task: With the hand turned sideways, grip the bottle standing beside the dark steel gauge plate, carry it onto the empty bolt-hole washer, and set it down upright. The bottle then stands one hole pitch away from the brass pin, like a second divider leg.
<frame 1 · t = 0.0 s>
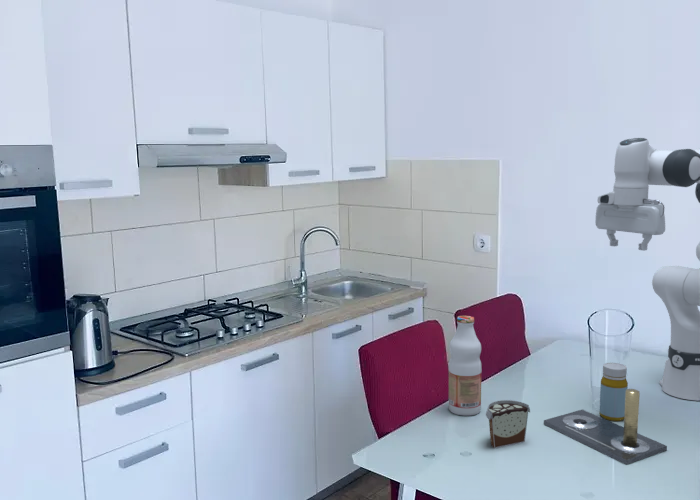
hand: (627, 248, 178), 48 cm above the table, tool pointing down, fingers open, 8 cm apart
gauge plate: (602, 436, 170), on the table
bottle: (612, 417, 182), on the table
fruit juice: (464, 410, 189), on the table
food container: (502, 441, 169), on the table
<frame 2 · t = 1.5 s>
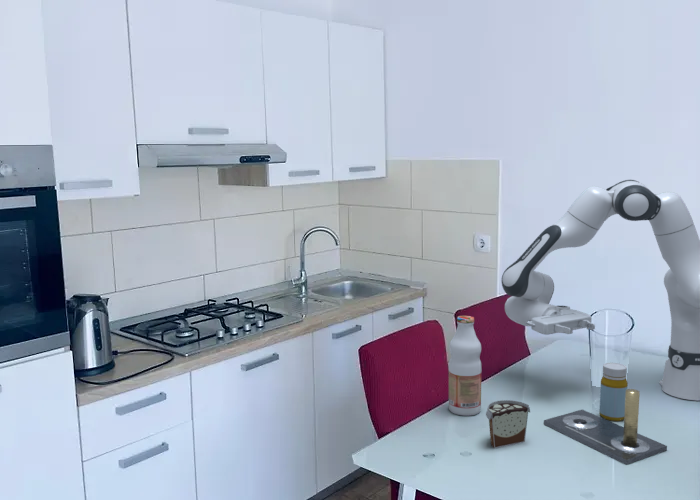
hand: (582, 329, 189), 23 cm above the table, tool horizontal, fingers open, 8 cm apart
nothing on the table moved.
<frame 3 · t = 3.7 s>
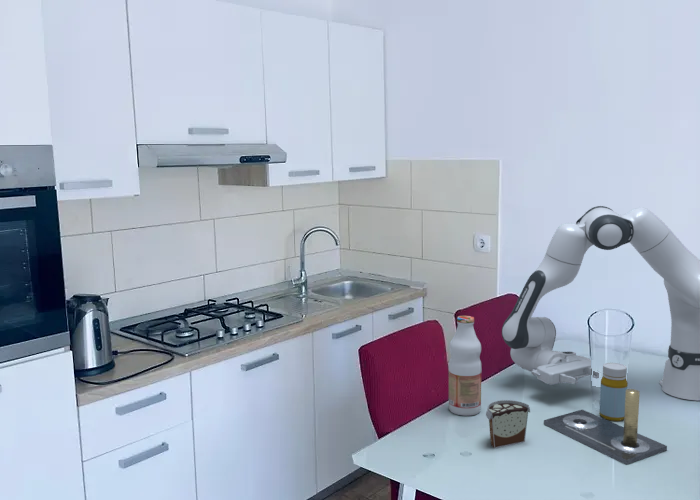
hand: (587, 378, 189), 8 cm above the table, tool horizontal, fingers open, 8 cm apart
nothing on the table moved.
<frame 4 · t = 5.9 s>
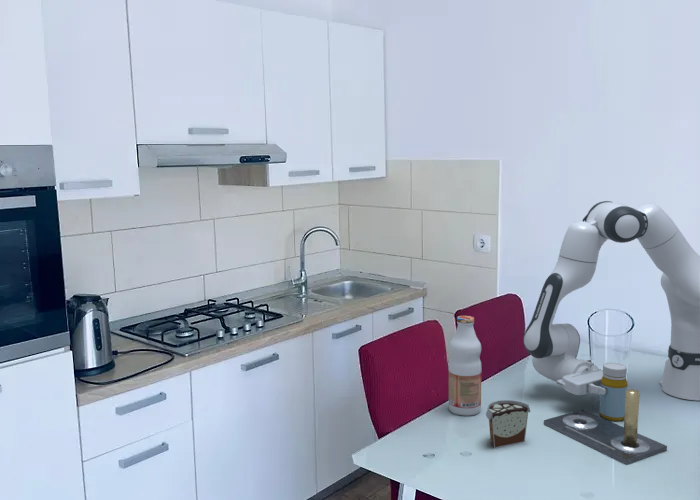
hand: (616, 389, 180), 9 cm above the table, tool horizontal, fingers closed on bottle, 7 cm apart
bottle: (612, 417, 182), on the table, touching gripper
everything else where it was.
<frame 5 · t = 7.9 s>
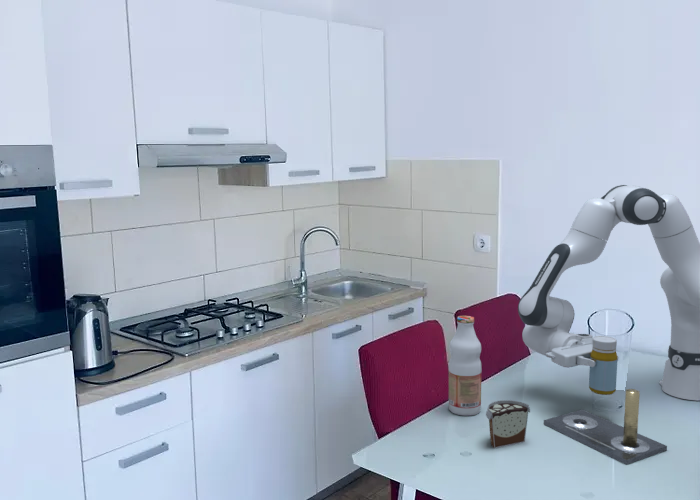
hand: (606, 361, 177), 17 cm above the table, tool horizontal, fingers closed on bottle, 7 cm apart
bottle: (602, 391, 180), point 8 cm above the table, touching gripper
everything else where it was.
when the fingers open (11 cm above the table, at t = 10.3 s): bottle stays where it is, resting on gauge plate.
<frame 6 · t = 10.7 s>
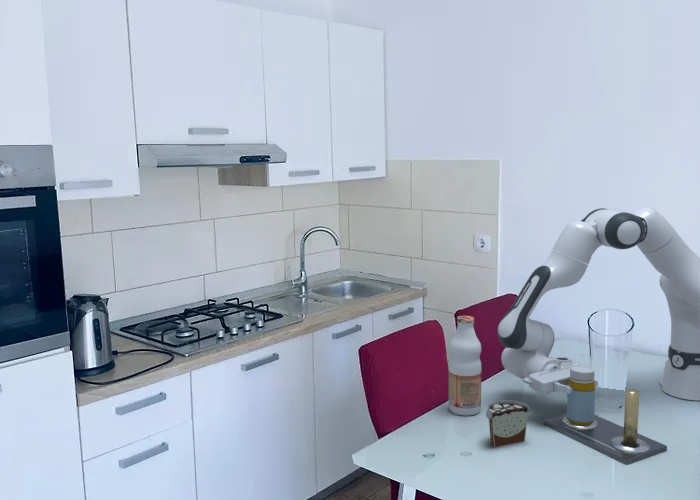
hand: (584, 387, 174), 11 cm above the table, tool horizontal, fingers open, 8 cm apart
bottle: (580, 422, 176), point 1 cm above the table, touching gauge plate
everything else where it was.
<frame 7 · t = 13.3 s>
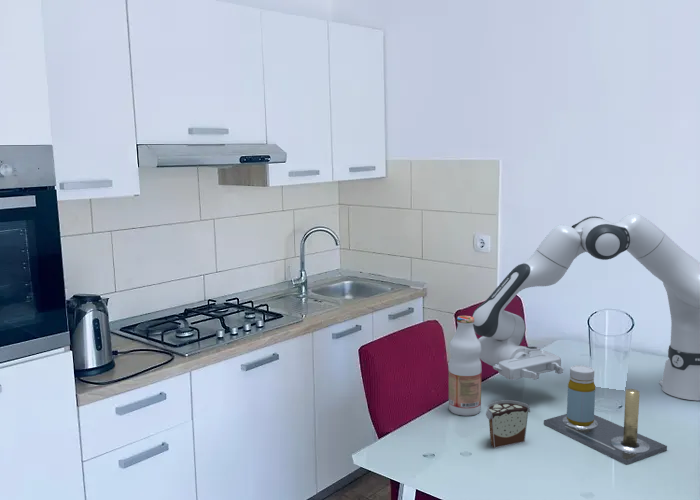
hand: (549, 373, 185), 12 cm above the table, tool horizontal, fingers open, 8 cm apart
nothing on the table moved.
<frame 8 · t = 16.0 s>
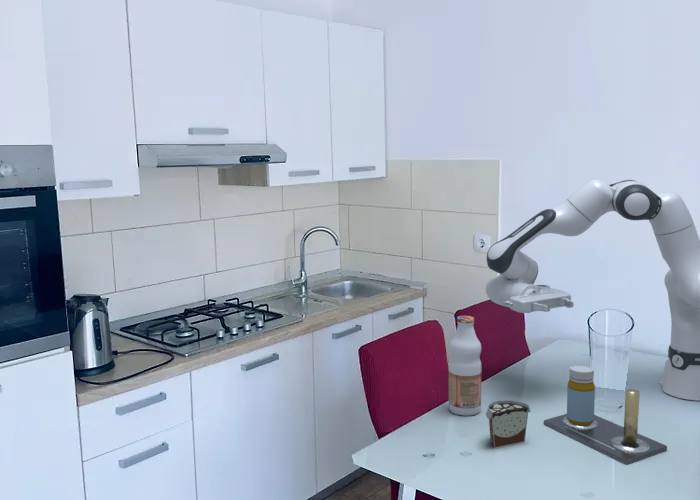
hand: (560, 306, 187), 30 cm above the table, tool horizontal, fingers open, 8 cm apart
nothing on the table moved.
at the end: bottle 0.1 cm from the target spot, point 1.2 cm above the table; bottle tilted 1°; the gripper is holding nothing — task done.
